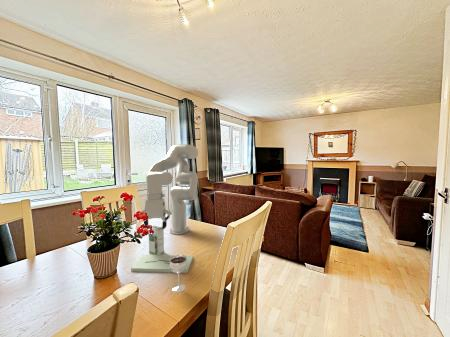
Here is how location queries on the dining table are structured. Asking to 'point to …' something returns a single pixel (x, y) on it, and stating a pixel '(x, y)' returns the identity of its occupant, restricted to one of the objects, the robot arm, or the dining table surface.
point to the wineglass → (178, 269)
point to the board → (157, 263)
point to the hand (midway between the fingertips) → (155, 228)
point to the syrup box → (156, 240)
